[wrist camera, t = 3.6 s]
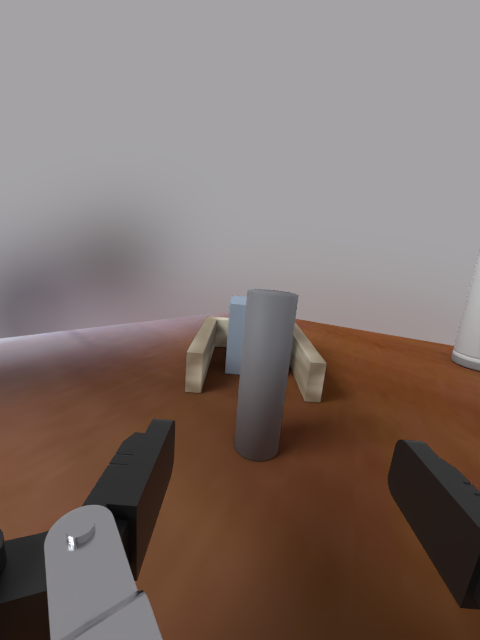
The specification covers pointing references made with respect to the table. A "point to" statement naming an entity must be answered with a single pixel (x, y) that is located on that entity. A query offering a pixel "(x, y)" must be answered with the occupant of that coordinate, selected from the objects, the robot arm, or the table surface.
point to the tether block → (260, 367)
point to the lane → (214, 334)
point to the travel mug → (470, 327)
